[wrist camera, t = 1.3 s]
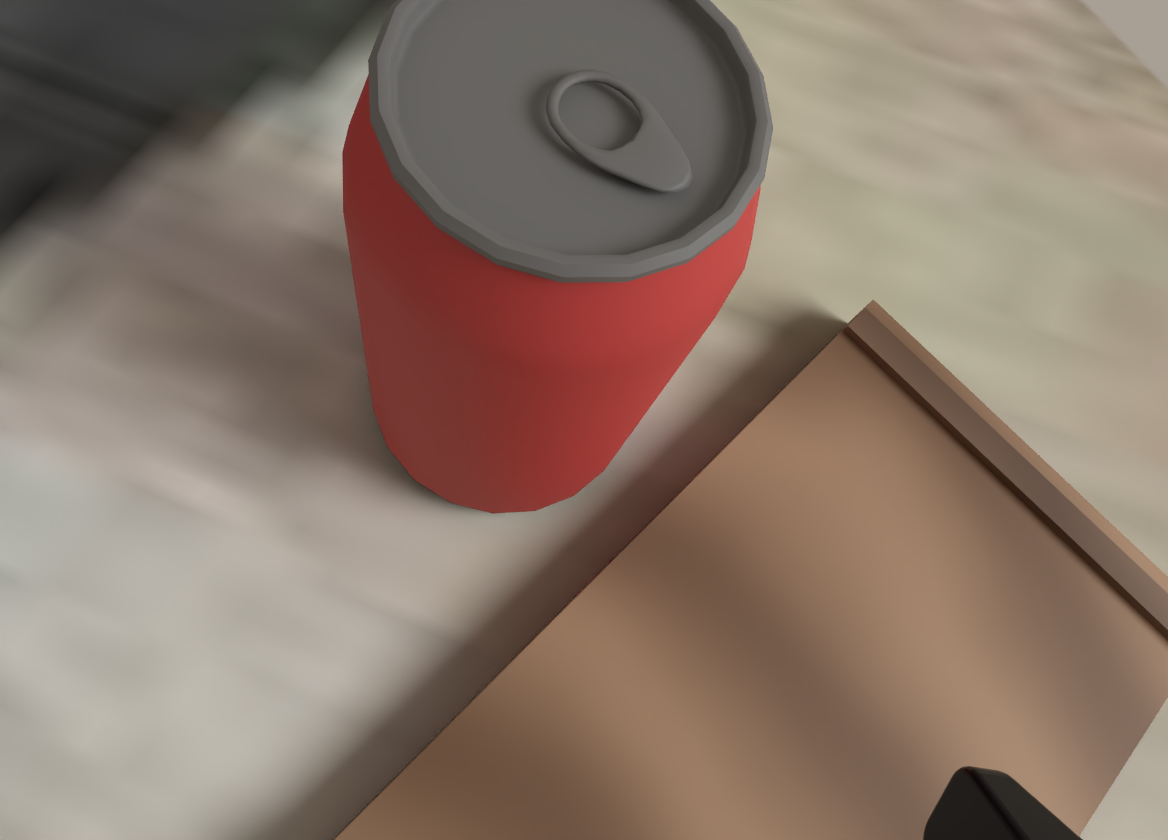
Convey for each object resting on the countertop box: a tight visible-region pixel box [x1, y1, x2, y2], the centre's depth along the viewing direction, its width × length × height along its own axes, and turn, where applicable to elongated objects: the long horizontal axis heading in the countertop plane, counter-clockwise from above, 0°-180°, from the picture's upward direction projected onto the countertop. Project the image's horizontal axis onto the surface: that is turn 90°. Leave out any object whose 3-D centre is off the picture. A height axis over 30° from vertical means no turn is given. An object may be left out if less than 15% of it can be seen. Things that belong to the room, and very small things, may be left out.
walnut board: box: [333, 300, 1168, 840], centre depth 21 cm, size 20×12×2 cm, turn 135°
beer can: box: [343, 0, 773, 513], centre depth 18 cm, size 7×7×12 cm
